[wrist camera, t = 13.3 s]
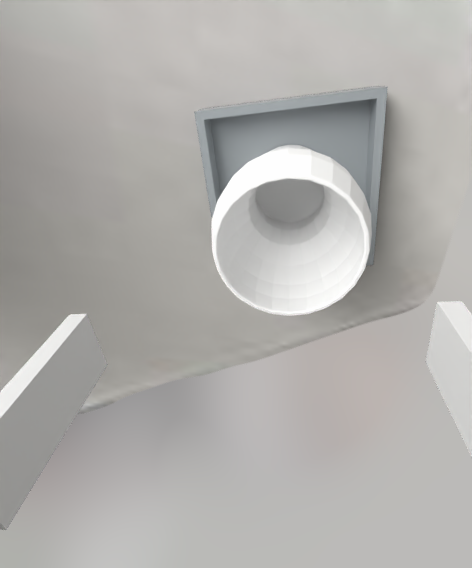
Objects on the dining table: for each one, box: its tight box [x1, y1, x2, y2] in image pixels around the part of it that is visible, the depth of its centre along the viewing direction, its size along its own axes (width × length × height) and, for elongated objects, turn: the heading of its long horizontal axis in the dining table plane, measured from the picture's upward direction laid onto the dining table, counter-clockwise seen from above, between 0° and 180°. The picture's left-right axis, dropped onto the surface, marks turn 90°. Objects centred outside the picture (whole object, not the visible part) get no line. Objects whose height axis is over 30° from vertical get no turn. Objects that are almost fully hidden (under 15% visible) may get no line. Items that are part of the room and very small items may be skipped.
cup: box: [212, 145, 372, 316], centre depth 28 cm, size 11×11×15 cm
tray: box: [194, 86, 387, 265], centre depth 33 cm, size 15×15×3 cm
